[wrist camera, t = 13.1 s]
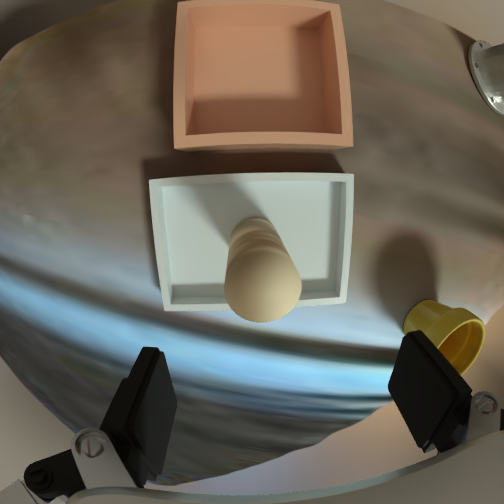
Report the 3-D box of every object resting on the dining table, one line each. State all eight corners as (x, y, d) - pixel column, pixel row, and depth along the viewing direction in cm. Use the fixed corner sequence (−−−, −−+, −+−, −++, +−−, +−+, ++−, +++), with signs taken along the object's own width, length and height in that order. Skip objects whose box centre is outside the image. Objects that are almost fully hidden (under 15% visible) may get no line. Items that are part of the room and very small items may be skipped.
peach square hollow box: (323, 28, 23) (339, 4, 17) (331, 149, 28) (353, 146, 22) (188, 27, 23) (177, 2, 17) (187, 152, 27) (173, 148, 21)
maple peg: (278, 215, 29) (302, 250, 17) (278, 262, 30) (299, 320, 19) (229, 217, 29) (221, 253, 17) (231, 263, 30) (226, 323, 19)
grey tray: (345, 173, 28) (353, 174, 26) (338, 293, 32) (345, 302, 30) (156, 178, 28) (148, 179, 25) (169, 300, 32) (164, 310, 29)
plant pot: (436, 271, 32) (480, 301, 23) (453, 316, 35) (489, 348, 26) (381, 320, 34) (415, 363, 25) (405, 359, 37) (434, 399, 27)
